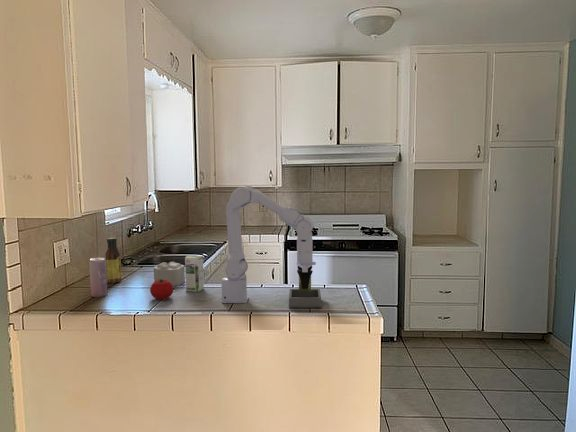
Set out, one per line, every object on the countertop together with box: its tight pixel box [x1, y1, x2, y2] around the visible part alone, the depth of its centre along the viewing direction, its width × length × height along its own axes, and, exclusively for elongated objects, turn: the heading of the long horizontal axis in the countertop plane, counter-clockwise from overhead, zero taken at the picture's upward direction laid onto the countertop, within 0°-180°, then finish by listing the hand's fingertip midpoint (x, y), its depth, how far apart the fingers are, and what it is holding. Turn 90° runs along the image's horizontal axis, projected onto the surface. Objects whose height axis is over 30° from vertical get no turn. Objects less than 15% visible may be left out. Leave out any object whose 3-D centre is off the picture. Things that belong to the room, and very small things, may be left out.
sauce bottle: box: [105, 237, 123, 284], centre depth 195 cm, size 7×6×20 cm
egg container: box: [153, 261, 186, 287], centre depth 194 cm, size 10×13×9 cm
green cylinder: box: [298, 276, 312, 293], centre depth 161 cm, size 5×5×6 cm
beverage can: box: [88, 257, 108, 298], centre depth 174 cm, size 6×6×15 cm
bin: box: [288, 288, 322, 310], centre depth 162 cm, size 12×12×4 cm
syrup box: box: [184, 254, 205, 293], centre depth 181 cm, size 6×6×14 cm
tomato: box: [149, 279, 175, 301], centre depth 170 cm, size 9×9×8 cm
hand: (304, 286), depth 161 cm, fingers closed on green cylinder, 5 cm apart
